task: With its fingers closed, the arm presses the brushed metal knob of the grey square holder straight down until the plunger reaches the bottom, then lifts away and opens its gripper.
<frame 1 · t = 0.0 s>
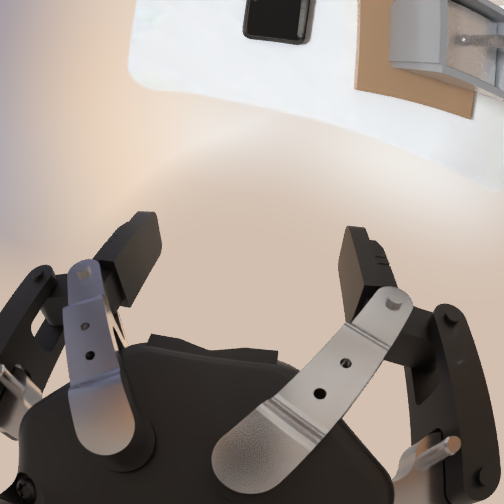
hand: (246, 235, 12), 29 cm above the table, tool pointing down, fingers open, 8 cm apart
grey square holder: (420, 43, 25), on the table
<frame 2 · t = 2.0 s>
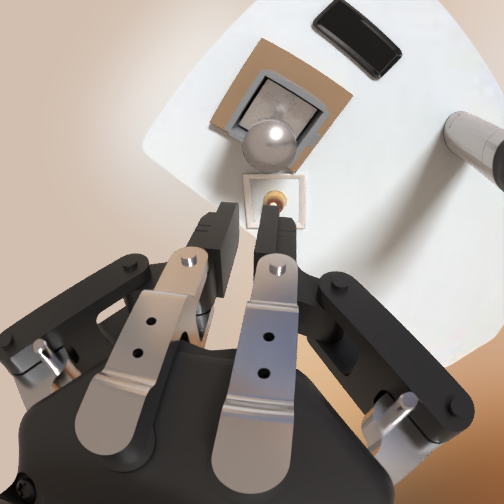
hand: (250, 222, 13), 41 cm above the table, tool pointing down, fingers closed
dessert: (275, 199, 58), on the table
plunger: (274, 127, 29), point 21 cm above the table, slide at 0.0 cm
grey square holder: (280, 104, 46), on the table
phone: (358, 37, 36), on the table
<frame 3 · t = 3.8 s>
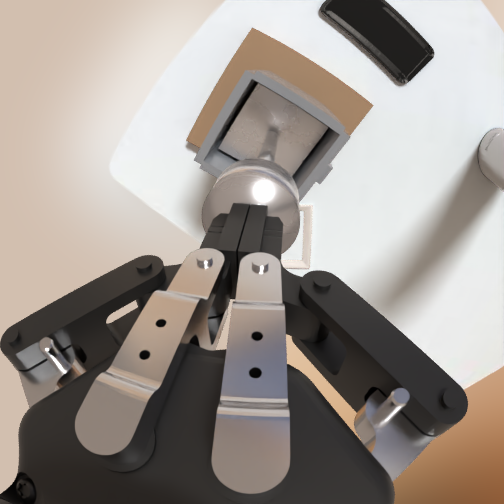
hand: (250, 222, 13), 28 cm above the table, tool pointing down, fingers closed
dessert: (274, 234, 47), on the table
plunger: (265, 162, 20), point 20 cm above the table, slide at 0.8 cm, touching gripper
grey square holder: (277, 116, 35), on the table
phone: (379, 29, 26), on the table
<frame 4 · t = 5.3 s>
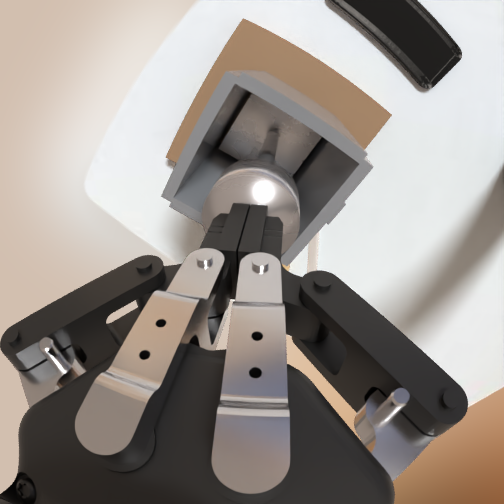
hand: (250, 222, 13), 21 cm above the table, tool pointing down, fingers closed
dessert: (273, 262, 41), on the table
plunger: (265, 162, 20), point 12 cm above the table, slide at 8.2 cm, touching gripper
grey square holder: (274, 127, 29), on the table
phone: (398, 22, 20), on the table
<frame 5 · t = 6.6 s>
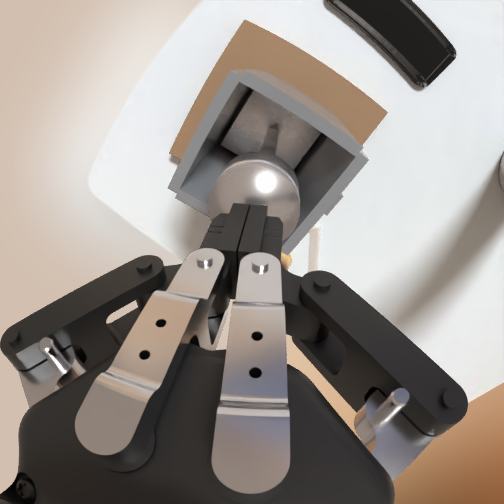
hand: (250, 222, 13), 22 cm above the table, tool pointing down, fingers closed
dessert: (276, 256, 42), on the table
plunger: (266, 156, 20), point 12 cm above the table, slide at 8.1 cm
grey square holder: (274, 124, 30), on the table
phone: (394, 23, 21), on the table
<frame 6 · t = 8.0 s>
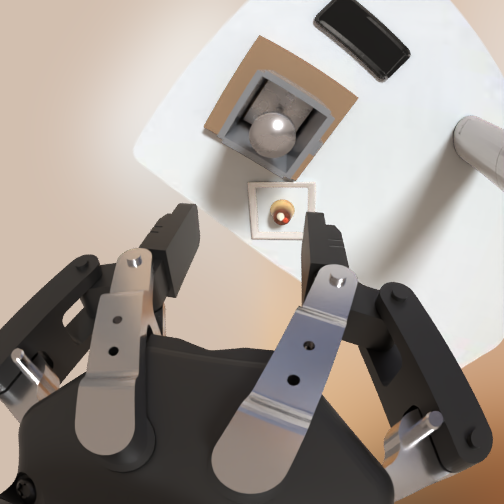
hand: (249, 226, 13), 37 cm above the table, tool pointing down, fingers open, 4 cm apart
dessert: (282, 208, 54), on the table
plunger: (276, 121, 33), point 12 cm above the table, slide at 8.1 cm
grey square holder: (279, 107, 42), on the table
phone: (363, 35, 33), on the table
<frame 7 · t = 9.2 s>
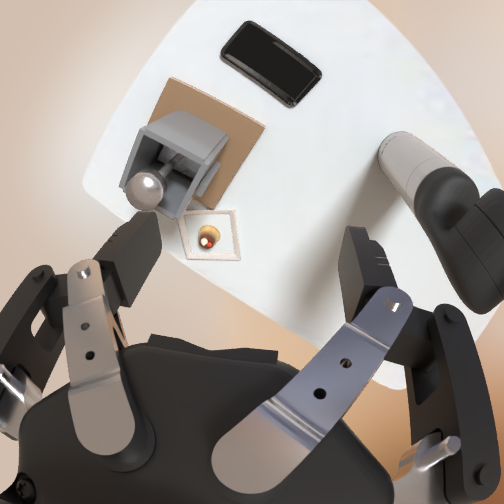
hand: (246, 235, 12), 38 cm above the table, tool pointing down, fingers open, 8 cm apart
dessert: (210, 232, 59), on the table
plunger: (167, 167, 38), point 12 cm above the table, slide at 8.1 cm
grey square holder: (194, 143, 48), on the table
phone: (271, 61, 38), on the table
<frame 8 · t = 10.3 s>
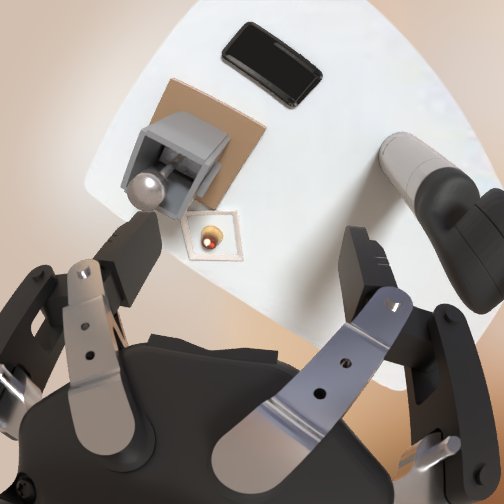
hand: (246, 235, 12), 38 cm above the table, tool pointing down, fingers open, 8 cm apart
dessert: (213, 233, 60), on the table
plunger: (169, 168, 38), point 12 cm above the table, slide at 8.1 cm
grey square holder: (195, 144, 48), on the table
phone: (272, 62, 39), on the table
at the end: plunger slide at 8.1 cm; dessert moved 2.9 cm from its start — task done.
